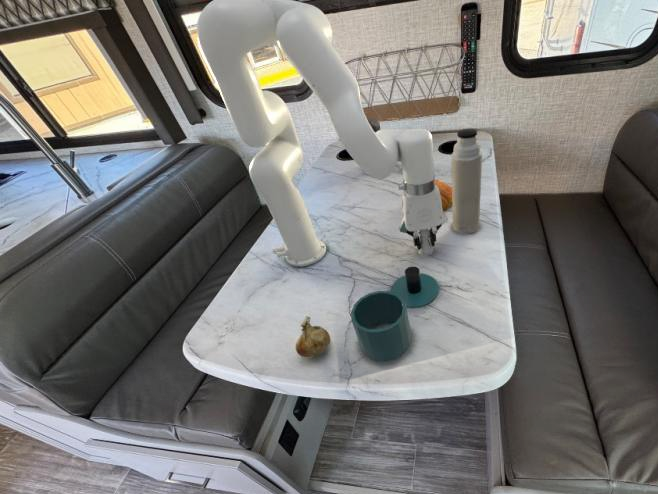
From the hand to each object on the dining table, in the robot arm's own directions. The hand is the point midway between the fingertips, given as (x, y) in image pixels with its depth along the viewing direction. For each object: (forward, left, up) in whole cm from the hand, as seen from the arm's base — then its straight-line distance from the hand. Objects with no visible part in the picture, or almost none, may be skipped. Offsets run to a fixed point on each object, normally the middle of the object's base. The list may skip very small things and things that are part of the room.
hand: (425, 244), depth 95 cm
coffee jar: (-4, +64, -3) cm, 64 cm away
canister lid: (-7, -15, -2) cm, 17 cm away
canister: (-17, -28, -3) cm, 33 cm away
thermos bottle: (+15, +8, -3) cm, 17 cm away
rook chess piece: (0, 0, -3) cm, 3 cm away
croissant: (+10, +26, -3) cm, 28 cm away
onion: (-33, -26, -3) cm, 42 cm away
